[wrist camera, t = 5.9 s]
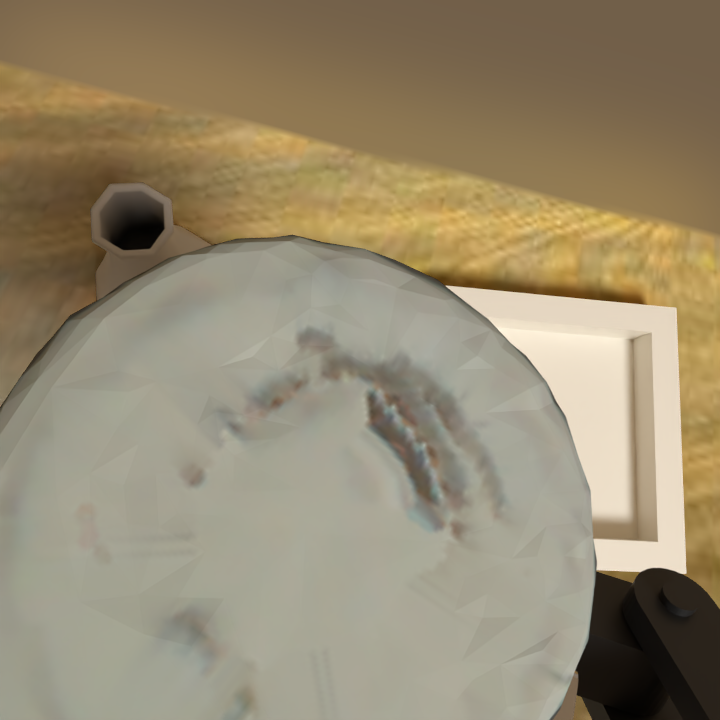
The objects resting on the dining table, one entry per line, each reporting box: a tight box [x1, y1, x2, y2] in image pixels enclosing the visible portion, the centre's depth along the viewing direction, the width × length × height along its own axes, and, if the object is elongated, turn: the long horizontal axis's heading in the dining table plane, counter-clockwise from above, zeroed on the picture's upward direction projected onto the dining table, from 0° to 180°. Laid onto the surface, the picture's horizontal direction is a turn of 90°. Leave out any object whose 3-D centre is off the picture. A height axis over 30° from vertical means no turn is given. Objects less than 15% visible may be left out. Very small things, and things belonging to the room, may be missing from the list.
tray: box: [446, 286, 686, 574], centre depth 37 cm, size 13×14×2 cm
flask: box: [90, 182, 211, 300], centre depth 31 cm, size 7×7×10 cm
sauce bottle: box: [0, 235, 597, 720], centre depth 14 cm, size 7×6×20 cm
